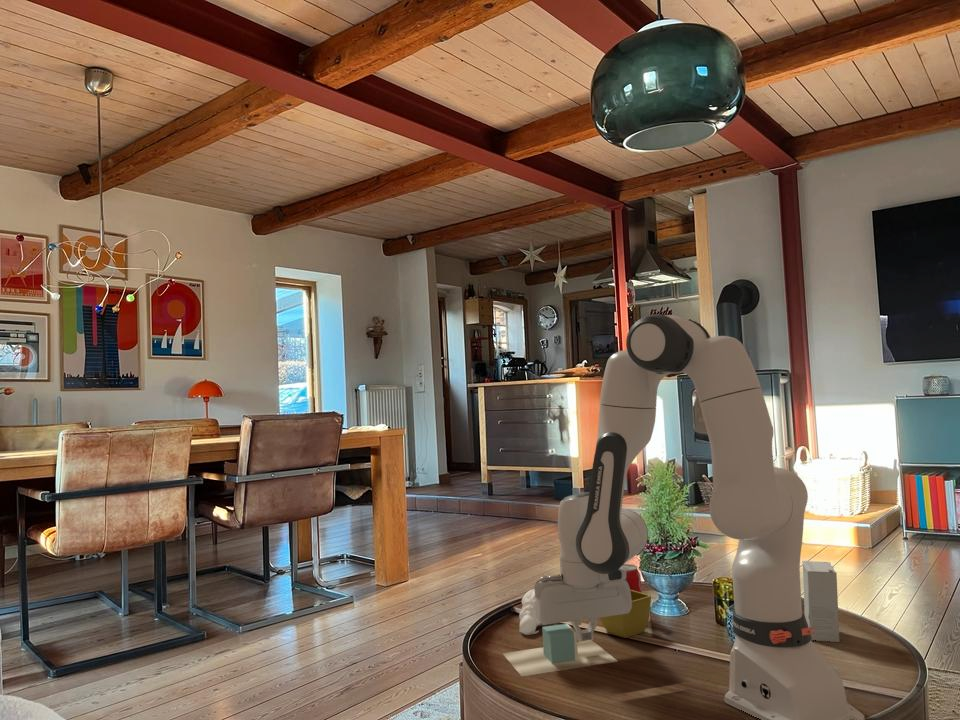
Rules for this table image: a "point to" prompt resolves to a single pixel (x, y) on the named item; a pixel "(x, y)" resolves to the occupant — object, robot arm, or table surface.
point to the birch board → (539, 664)
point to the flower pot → (630, 617)
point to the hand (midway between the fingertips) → (585, 640)
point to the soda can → (632, 577)
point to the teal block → (560, 643)
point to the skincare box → (821, 600)
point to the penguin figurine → (529, 614)
